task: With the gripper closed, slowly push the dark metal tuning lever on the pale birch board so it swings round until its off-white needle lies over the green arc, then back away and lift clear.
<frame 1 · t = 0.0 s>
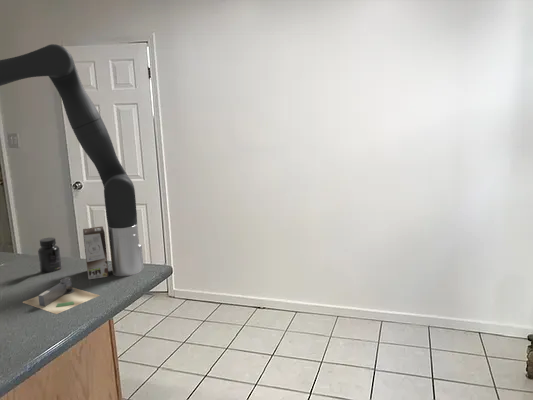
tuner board: (62, 303, 136), on the countertop
coffee box: (98, 278, 155), on the countertop
tuning lever: (56, 291, 135), point 4 cm above the countertop, hinge at 20.0°
supplement bottle: (51, 273, 161), on the countertop
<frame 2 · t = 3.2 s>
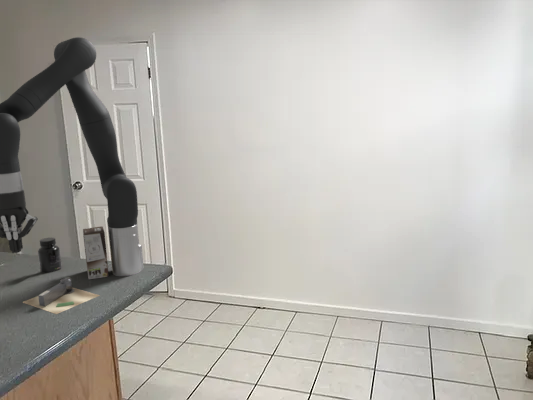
hand: (16, 251, 129), 17 cm above the countertop, tool pointing down, fingers closed
nothing on the countertop moved.
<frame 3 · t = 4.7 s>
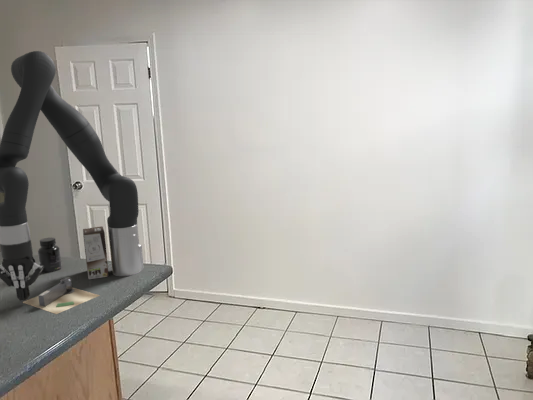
hand: (23, 299, 132), 3 cm above the countertop, tool pointing down, fingers closed
nothing on the countertop moved.
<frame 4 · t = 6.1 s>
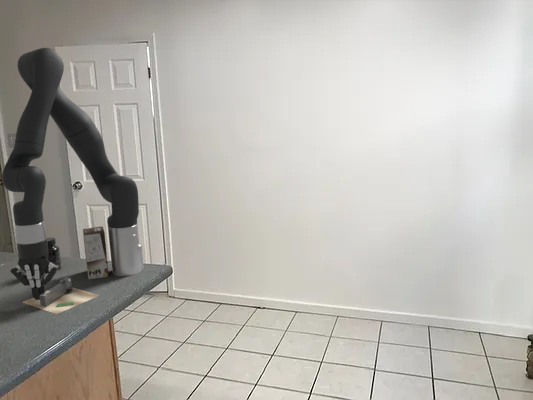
hand: (39, 298, 132), 3 cm above the countertop, tool pointing down, fingers closed
tuning lever: (56, 291, 135), point 4 cm above the countertop, hinge at 21.7°, touching gripper
everything else where it was.
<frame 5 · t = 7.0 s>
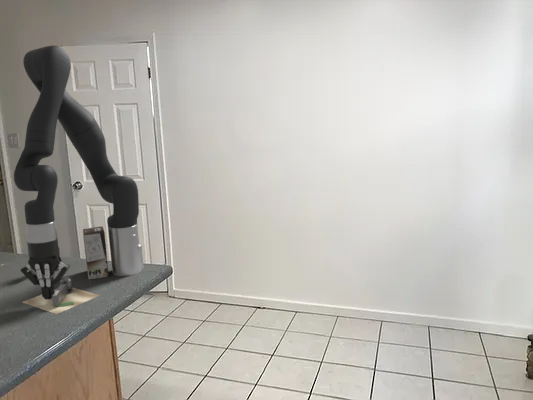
hand: (48, 298, 132), 3 cm above the countertop, tool pointing down, fingers closed
tuning lever: (61, 290, 135), point 4 cm above the countertop, hinge at 40.7°, touching gripper
everything else where it was.
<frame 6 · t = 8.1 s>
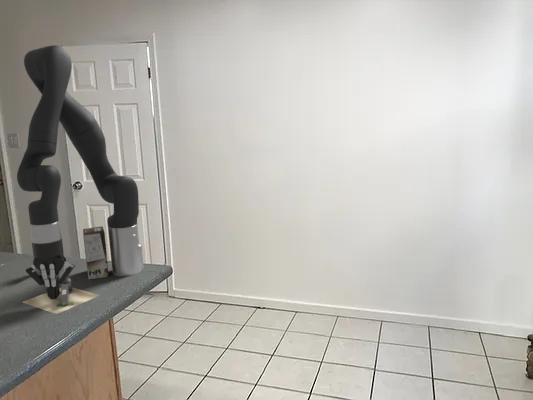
hand: (54, 298, 132), 3 cm above the countertop, tool pointing down, fingers closed
tuning lever: (65, 290, 135), point 4 cm above the countertop, hinge at 52.5°
everything else where it was.
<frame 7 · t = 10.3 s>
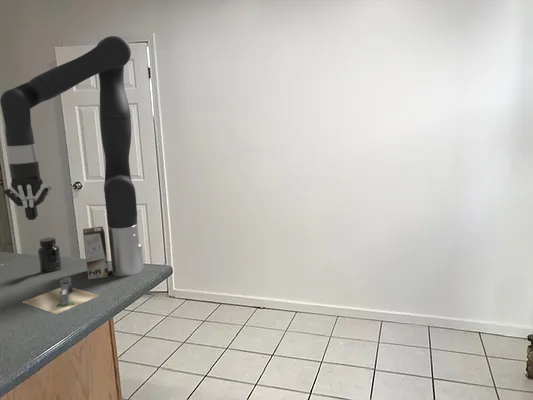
hand: (32, 219, 139), 23 cm above the countertop, tool pointing down, fingers closed
nothing on the countertop moved.
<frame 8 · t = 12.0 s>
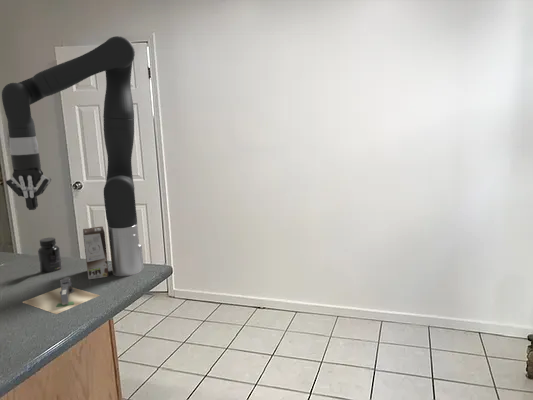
hand: (32, 209, 144), 25 cm above the countertop, tool pointing down, fingers closed
nothing on the countertop moved.
at the end: tuning lever at +53° (first picture: +20°); coffee box moved 0.2 cm from its start; supplement bottle moved 0.2 cm from its start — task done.
